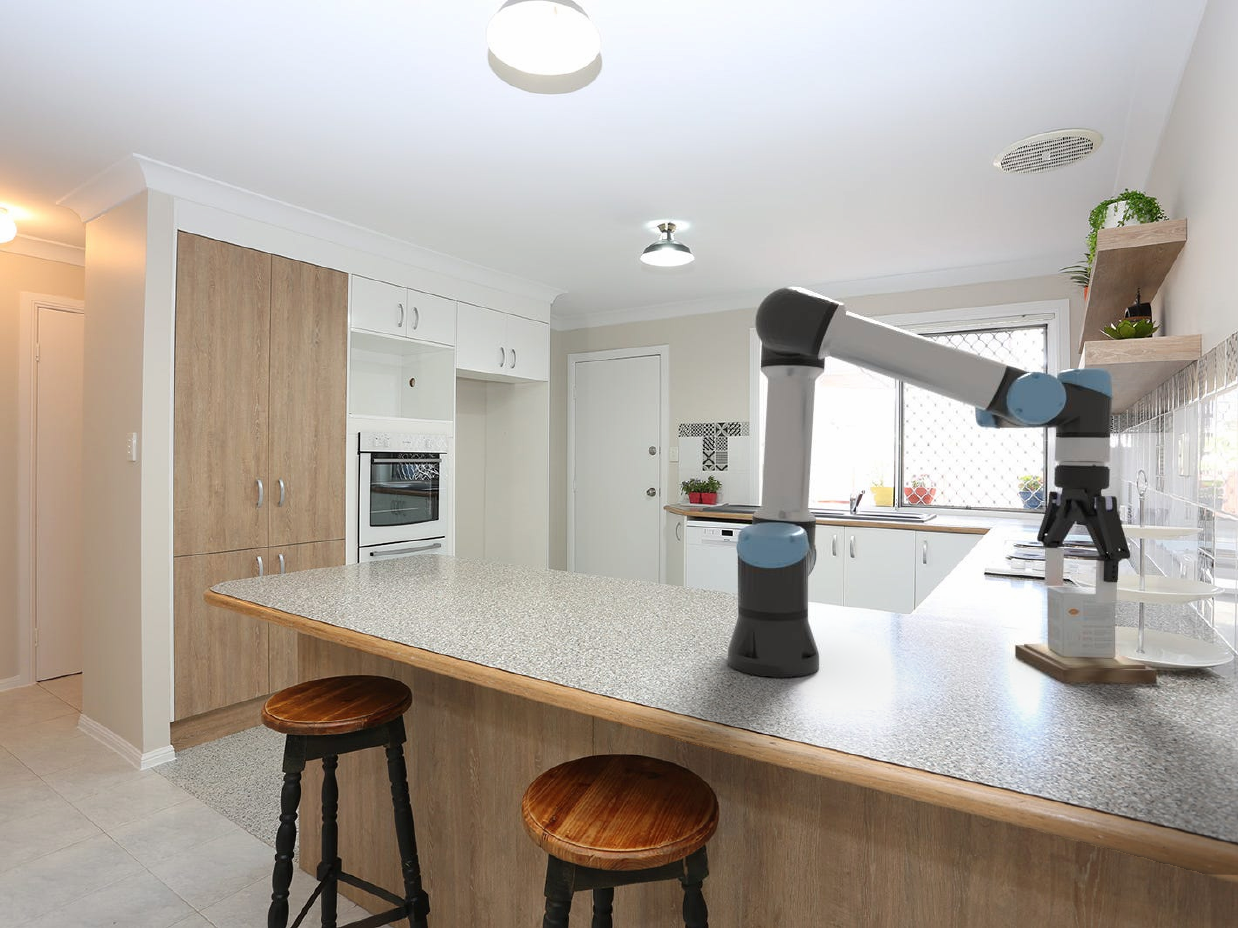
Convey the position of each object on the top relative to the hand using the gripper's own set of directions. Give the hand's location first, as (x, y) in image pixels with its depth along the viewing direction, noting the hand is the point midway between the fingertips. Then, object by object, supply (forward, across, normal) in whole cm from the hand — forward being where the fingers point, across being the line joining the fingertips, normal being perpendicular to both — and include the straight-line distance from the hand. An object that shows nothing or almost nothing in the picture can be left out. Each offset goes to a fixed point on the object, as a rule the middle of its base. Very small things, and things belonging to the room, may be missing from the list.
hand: (1078, 593), depth 114 cm
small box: (+10, 0, -1) cm, 10 cm away
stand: (+12, 0, -1) cm, 12 cm away
